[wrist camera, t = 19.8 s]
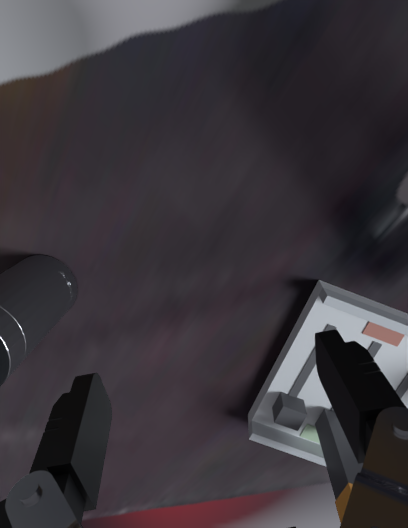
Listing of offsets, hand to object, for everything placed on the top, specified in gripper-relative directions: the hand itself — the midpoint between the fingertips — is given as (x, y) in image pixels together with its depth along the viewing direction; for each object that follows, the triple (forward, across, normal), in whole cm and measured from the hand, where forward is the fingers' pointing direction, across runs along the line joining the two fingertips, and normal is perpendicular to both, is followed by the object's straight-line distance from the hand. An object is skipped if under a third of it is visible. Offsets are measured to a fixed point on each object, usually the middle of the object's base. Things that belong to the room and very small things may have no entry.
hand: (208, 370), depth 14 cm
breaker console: (+29, -17, +33) cm, 47 cm away
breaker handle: (+26, -13, +38) cm, 48 cm away
